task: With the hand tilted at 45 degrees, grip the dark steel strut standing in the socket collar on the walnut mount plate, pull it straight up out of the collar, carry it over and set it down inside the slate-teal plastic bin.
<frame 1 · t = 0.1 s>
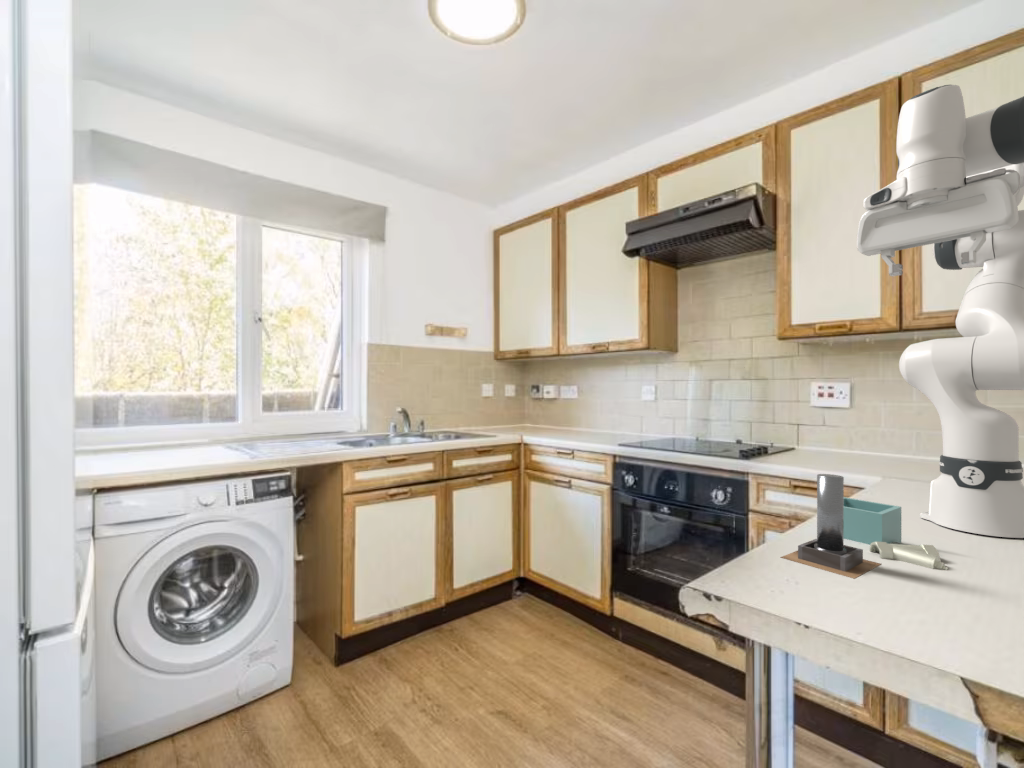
hand: (930, 269, 80), 48 cm above the table, tool pointing down, fingers open, 8 cm apart
strut: (830, 560, 73), point 1 cm above the table, touching mount plate
mount plate: (830, 570, 73), on the table
bin: (860, 543, 86), on the table
pipe fitting: (910, 572, 74), on the table
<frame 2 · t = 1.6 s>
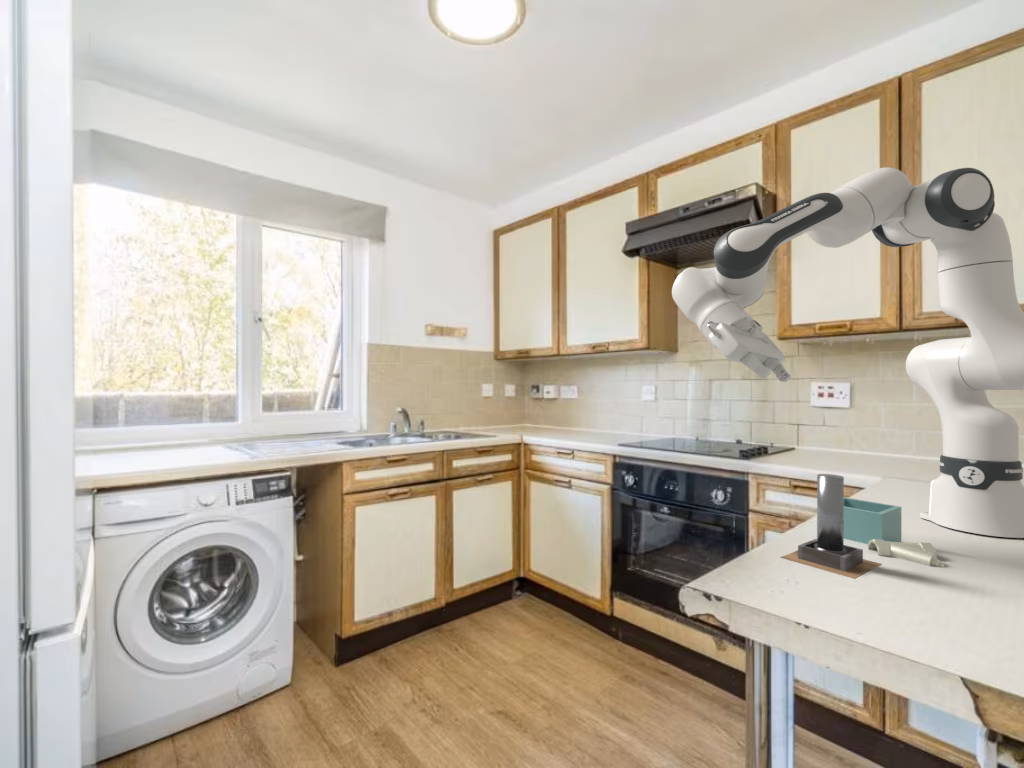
hand: (777, 377, 89), 30 cm above the table, tool tilted 45°, fingers open, 8 cm apart
pipe fitting: (907, 569, 75), on the table
everything else where it was.
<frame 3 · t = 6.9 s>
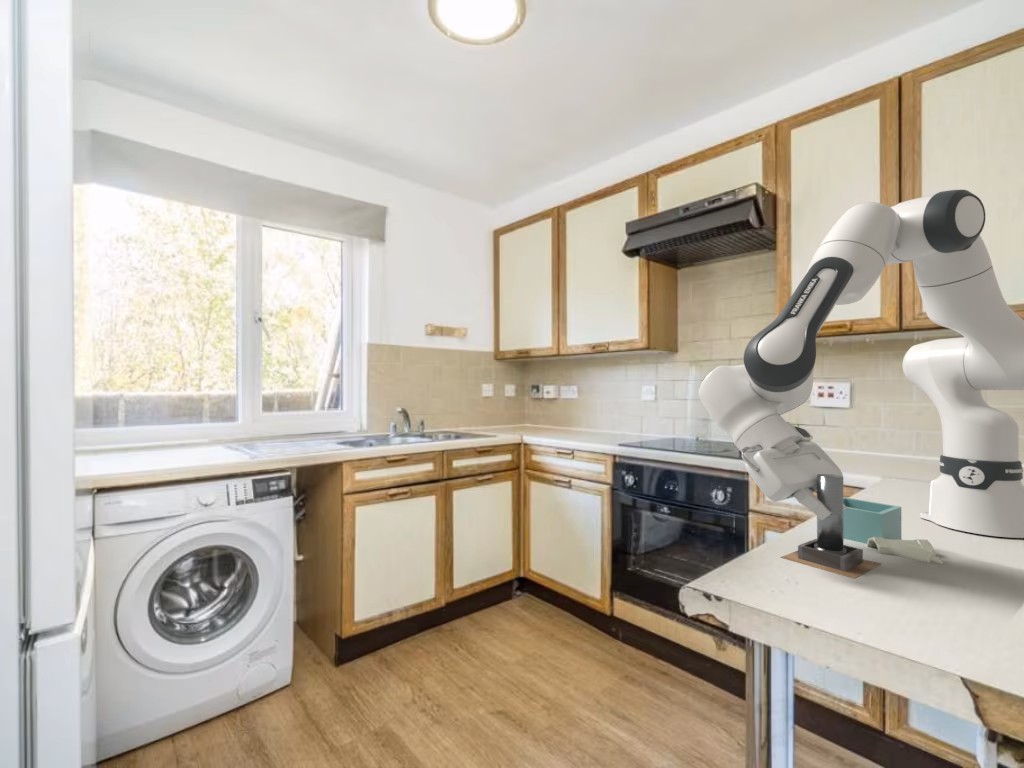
hand: (834, 514, 73), 9 cm above the table, tool tilted 45°, fingers closed on strut, 3 cm apart
strut: (830, 560, 73), point 2 cm above the table, touching gripper, mount plate
pipe fitting: (906, 566, 76), on the table
when the fingers open (10 cm above the table, at t = 13.2 s): strut drops 1 cm, resting on bin.
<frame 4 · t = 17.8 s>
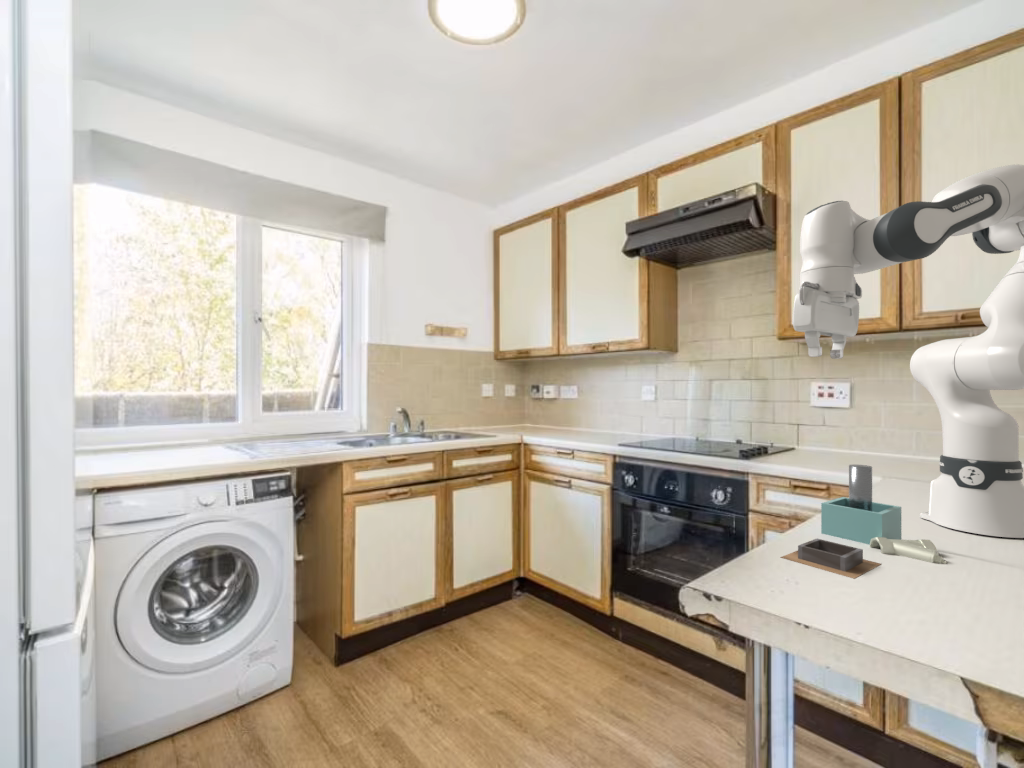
hand: (826, 357, 93), 34 cm above the table, tool pointing down, fingers open, 8 cm apart
strut: (860, 537, 86), point 1 cm above the table, touching bin
at the end: strut 0.1 cm off-centre on the bin, point 1.1 cm above the bin's base; the gripper is holding nothing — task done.
